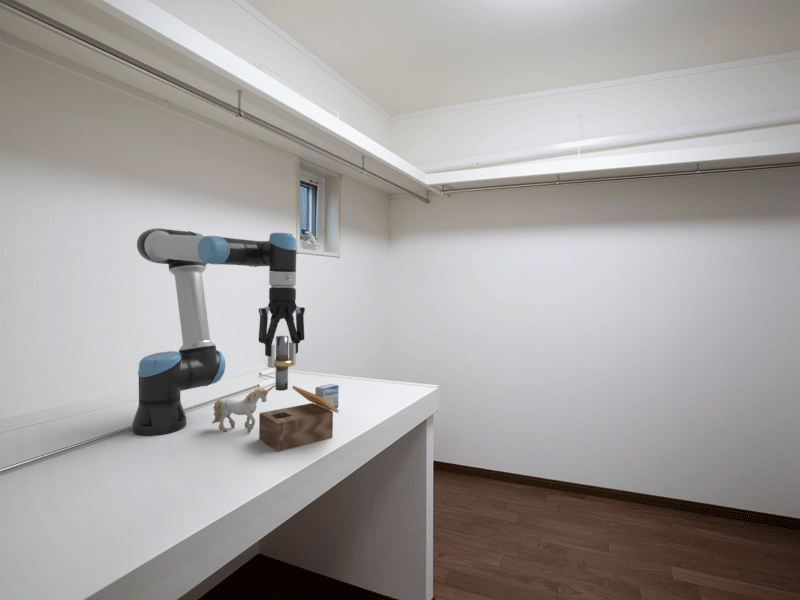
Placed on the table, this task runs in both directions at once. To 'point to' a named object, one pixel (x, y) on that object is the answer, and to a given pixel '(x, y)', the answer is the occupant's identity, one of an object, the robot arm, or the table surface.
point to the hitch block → (295, 426)
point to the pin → (282, 363)
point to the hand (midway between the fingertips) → (281, 365)
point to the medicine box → (328, 394)
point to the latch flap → (315, 399)
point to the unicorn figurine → (239, 408)
